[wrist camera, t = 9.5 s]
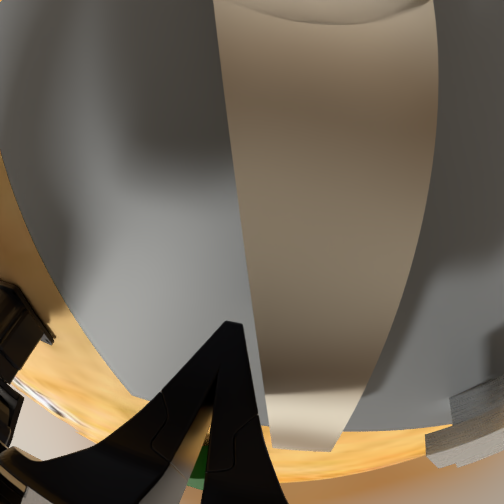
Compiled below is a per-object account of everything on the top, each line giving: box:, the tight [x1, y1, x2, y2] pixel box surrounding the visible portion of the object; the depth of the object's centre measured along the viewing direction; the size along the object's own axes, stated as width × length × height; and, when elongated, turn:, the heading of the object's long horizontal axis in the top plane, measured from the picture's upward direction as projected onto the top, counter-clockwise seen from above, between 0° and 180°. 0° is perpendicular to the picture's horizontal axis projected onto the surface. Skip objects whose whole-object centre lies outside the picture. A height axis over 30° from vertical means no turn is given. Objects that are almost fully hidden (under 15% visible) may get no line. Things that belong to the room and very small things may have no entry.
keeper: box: [425, 374, 504, 468], centre depth 9 cm, size 8×7×5 cm
